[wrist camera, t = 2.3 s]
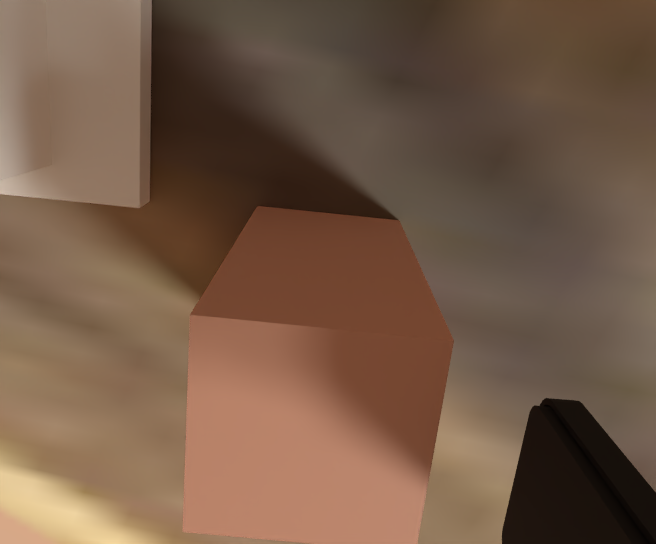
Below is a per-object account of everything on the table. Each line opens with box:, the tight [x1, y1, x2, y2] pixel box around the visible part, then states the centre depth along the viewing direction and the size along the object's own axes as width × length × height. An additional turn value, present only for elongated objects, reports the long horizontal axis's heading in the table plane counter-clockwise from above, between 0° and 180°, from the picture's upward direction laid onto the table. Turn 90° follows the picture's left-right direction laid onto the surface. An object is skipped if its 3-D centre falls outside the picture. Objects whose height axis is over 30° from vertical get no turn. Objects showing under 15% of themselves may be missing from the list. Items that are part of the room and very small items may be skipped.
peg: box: [183, 206, 454, 544], centre depth 15 cm, size 4×4×9 cm
